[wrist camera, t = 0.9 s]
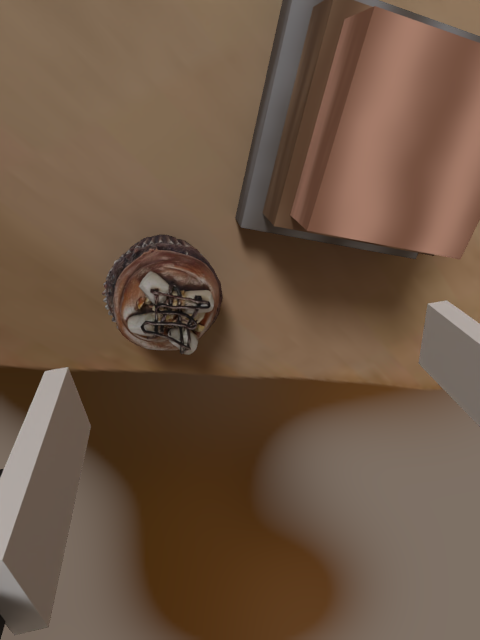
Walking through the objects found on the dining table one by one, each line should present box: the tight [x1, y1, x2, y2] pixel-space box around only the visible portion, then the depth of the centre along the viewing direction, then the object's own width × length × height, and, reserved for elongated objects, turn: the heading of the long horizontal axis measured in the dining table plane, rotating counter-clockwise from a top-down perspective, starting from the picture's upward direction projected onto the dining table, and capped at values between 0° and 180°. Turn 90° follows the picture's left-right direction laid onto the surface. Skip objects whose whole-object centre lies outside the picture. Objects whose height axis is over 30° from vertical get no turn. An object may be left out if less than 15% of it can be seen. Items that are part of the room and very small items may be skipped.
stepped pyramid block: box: [236, 0, 480, 259], centre depth 30 cm, size 17×17×11 cm
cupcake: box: [102, 235, 223, 355], centre depth 33 cm, size 10×10×10 cm
